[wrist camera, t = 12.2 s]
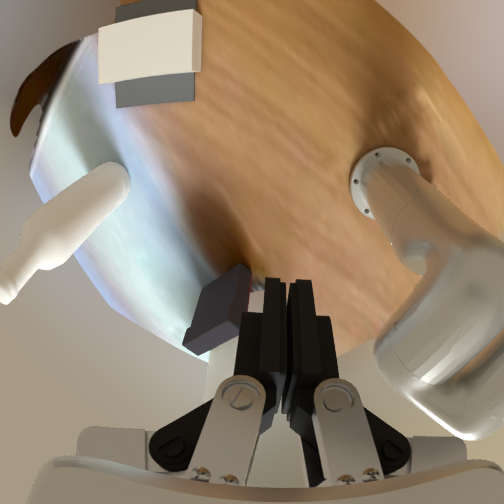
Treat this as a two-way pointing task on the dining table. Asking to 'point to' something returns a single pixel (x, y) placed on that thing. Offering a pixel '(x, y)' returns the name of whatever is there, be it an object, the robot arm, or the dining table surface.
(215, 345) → the dark grey box
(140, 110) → the dining table surface
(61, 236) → the bottle
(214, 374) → the milk
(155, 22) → the flip block
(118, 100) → the mat
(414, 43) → the dining table surface
